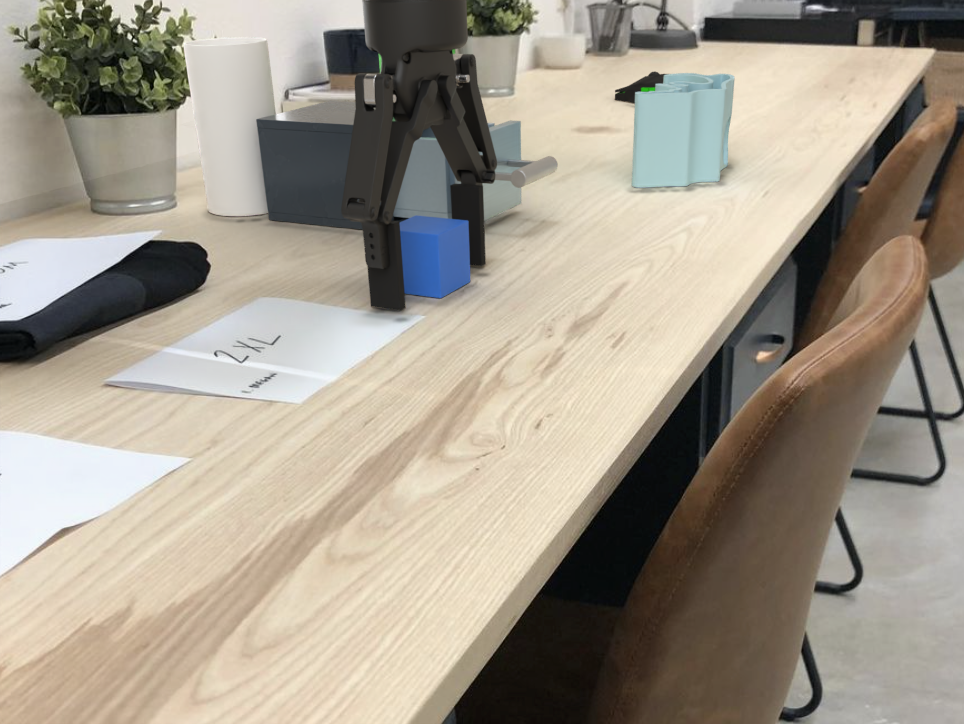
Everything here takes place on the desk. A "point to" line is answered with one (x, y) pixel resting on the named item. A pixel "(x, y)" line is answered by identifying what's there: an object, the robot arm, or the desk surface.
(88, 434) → the desk surface
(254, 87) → the cup
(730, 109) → the squiggly pen holder
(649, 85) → the black spring clamp
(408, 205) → the drawer
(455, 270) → the cube
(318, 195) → the dark gray drawer cabinet
